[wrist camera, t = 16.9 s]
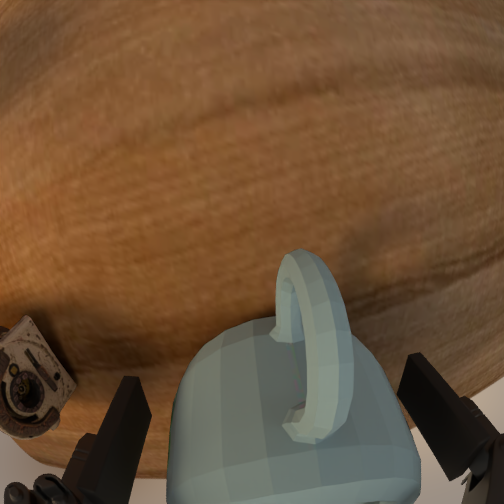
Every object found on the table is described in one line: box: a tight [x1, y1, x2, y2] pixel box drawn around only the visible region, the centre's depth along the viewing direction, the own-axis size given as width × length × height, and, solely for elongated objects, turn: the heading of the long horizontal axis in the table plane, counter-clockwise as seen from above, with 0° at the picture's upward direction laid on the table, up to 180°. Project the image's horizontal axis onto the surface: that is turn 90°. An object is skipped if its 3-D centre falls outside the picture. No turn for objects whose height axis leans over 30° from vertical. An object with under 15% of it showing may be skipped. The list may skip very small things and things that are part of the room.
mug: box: [166, 248, 421, 504], centre depth 10 cm, size 15×11×10 cm
